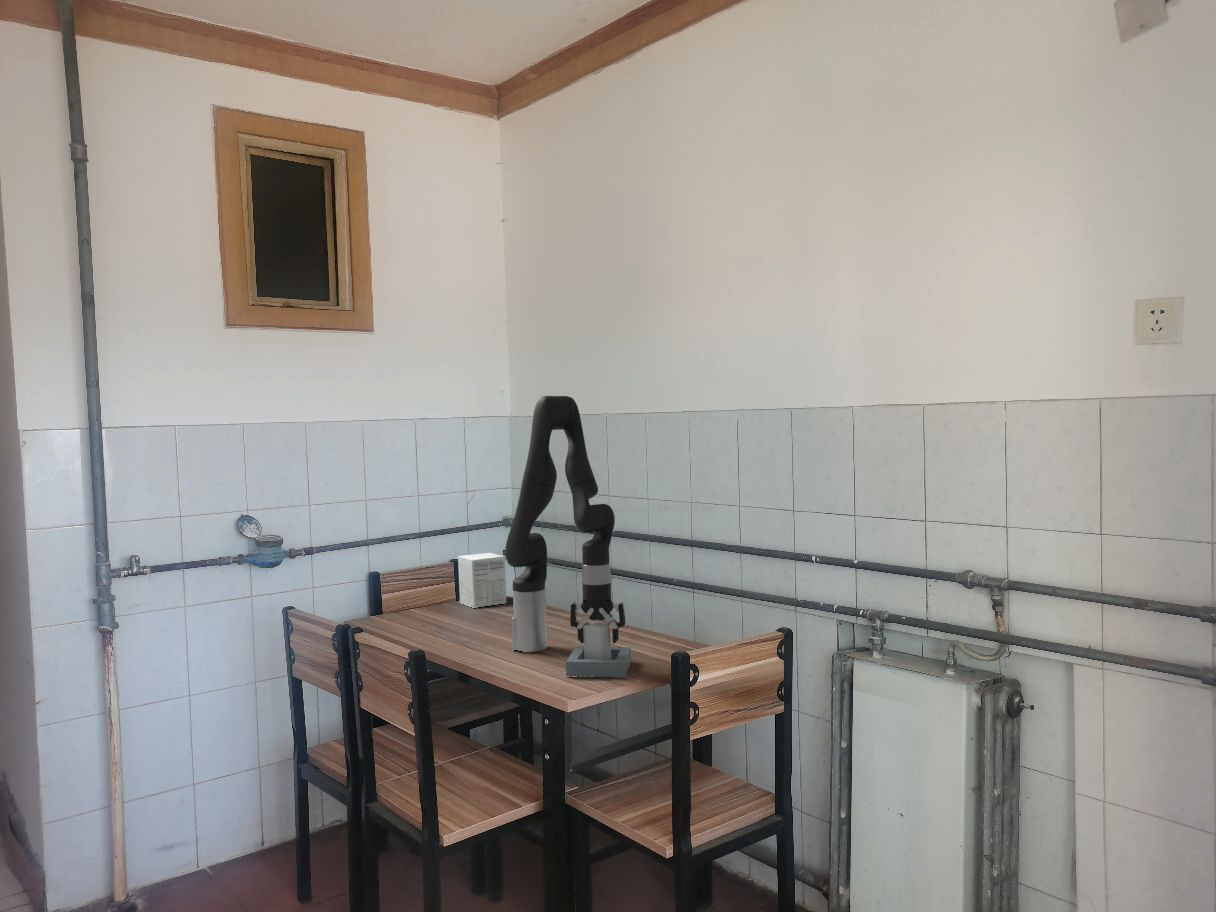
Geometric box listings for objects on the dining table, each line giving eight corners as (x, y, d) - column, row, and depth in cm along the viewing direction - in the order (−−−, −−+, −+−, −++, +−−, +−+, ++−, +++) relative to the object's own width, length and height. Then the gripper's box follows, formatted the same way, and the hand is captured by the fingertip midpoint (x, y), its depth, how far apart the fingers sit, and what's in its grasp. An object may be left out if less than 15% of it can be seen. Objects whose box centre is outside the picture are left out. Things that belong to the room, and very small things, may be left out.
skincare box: (612, 669, 237) (611, 623, 236) (602, 673, 233) (600, 626, 233) (593, 665, 240) (592, 620, 240) (583, 669, 237) (582, 623, 236)
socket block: (566, 677, 230) (565, 661, 230) (576, 661, 245) (575, 647, 245) (624, 677, 228) (624, 662, 228) (631, 661, 243) (630, 647, 243)
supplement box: (507, 604, 326) (505, 556, 325) (473, 609, 319) (471, 560, 319) (492, 598, 337) (490, 552, 337) (458, 603, 330) (457, 555, 330)
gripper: (567, 583, 233) (569, 646, 234) (622, 583, 231) (623, 646, 232) (572, 578, 241) (574, 639, 241) (625, 578, 239) (627, 639, 239)
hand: (598, 642), depth 237 cm, fingers open, 8 cm apart
